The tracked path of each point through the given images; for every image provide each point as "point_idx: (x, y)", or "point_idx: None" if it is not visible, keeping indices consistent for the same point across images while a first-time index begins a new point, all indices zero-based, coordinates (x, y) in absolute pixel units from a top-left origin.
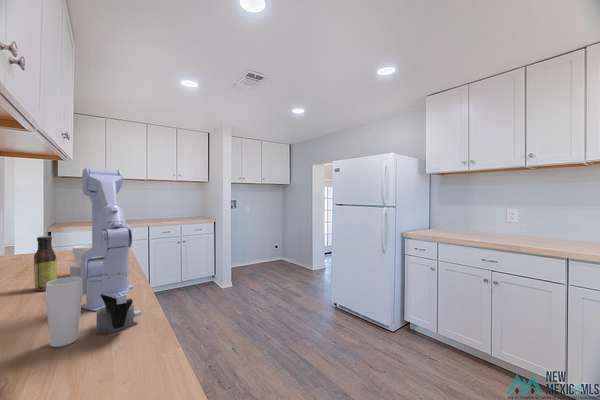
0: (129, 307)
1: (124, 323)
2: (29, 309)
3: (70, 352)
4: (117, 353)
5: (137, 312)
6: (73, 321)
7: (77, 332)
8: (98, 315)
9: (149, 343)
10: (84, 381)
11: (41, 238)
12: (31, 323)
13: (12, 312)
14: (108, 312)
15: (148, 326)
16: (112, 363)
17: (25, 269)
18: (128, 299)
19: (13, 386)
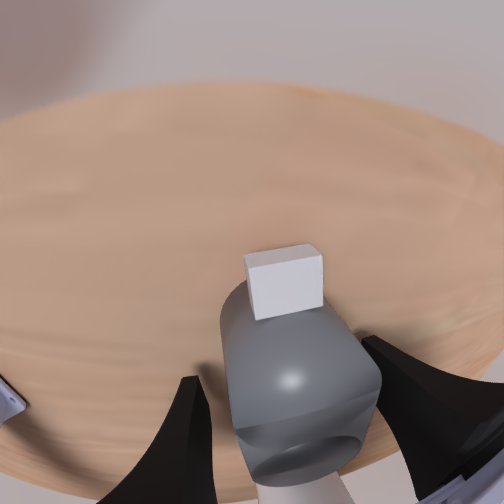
0: (479, 381)
1: (383, 341)
2: (18, 468)
3: (372, 423)
4: (473, 312)
5: (308, 284)
6: (349, 498)
7: None
8: (327, 473)
9: (493, 221)
10: (492, 349)
11: None
12: (98, 488)
13: (34, 482)
14: (329, 457)
15: (379, 192)
16: (493, 315)
17: None
18: (482, 435)
19: None
